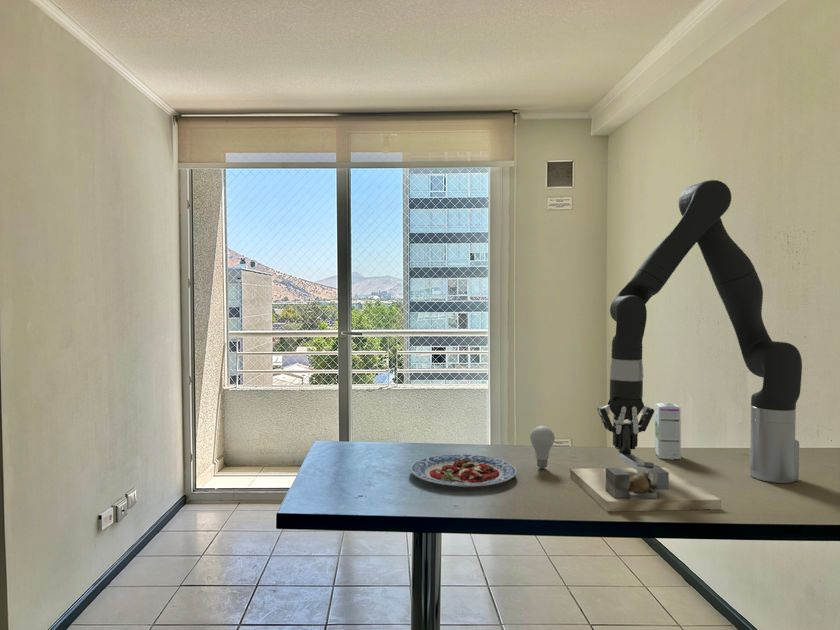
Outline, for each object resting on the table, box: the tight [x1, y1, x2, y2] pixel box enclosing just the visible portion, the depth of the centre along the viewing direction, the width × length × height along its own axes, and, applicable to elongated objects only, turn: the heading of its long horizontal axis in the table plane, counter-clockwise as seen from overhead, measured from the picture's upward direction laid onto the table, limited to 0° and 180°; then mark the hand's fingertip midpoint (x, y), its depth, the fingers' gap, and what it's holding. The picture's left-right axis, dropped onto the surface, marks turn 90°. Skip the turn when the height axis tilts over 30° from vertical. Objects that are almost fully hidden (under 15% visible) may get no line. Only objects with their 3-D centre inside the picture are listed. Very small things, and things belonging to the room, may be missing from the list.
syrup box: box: [654, 402, 682, 460], centre depth 156 cm, size 6×6×14 cm
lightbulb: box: [529, 425, 556, 470], centre depth 144 cm, size 6×6×11 cm
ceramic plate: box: [410, 453, 517, 488], centre depth 138 cm, size 26×26×3 cm
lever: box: [618, 422, 669, 490], centre depth 128 cm, size 5×21×10 cm, turn 3°
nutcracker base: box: [569, 467, 722, 512], centre depth 127 cm, size 24×23×7 cm
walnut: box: [629, 475, 649, 493], centre depth 119 cm, size 4×4×4 cm
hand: (624, 448), depth 137 cm, fingers closed on lever, 3 cm apart
